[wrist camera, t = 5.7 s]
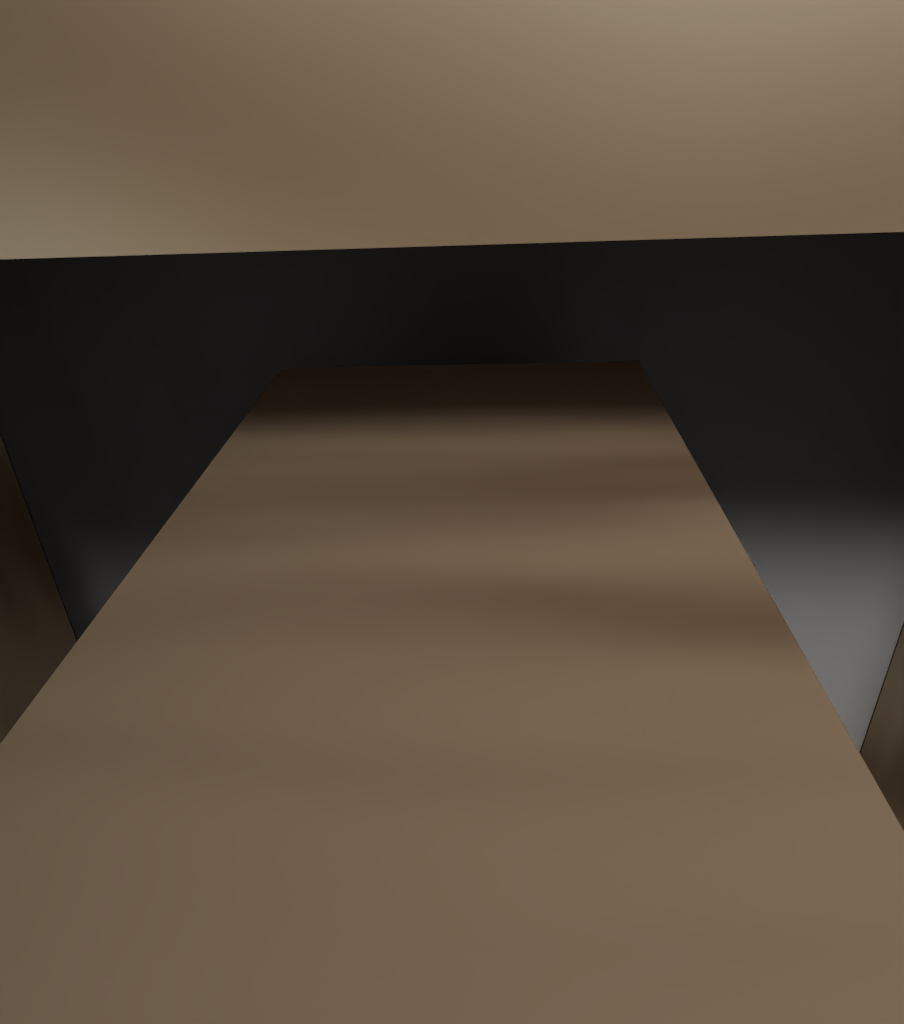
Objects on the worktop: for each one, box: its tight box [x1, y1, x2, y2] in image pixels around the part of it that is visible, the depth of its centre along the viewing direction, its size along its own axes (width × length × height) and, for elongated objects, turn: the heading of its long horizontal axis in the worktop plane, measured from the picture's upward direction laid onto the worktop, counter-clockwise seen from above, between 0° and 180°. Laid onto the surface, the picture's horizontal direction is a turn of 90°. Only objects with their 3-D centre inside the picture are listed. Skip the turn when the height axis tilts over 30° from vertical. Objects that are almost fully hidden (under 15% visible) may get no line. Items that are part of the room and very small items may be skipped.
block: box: [0, 361, 904, 1024], centre depth 9 cm, size 10×6×12 cm, turn 2°
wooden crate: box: [0, 0, 904, 831], centre depth 14 cm, size 22×28×9 cm
